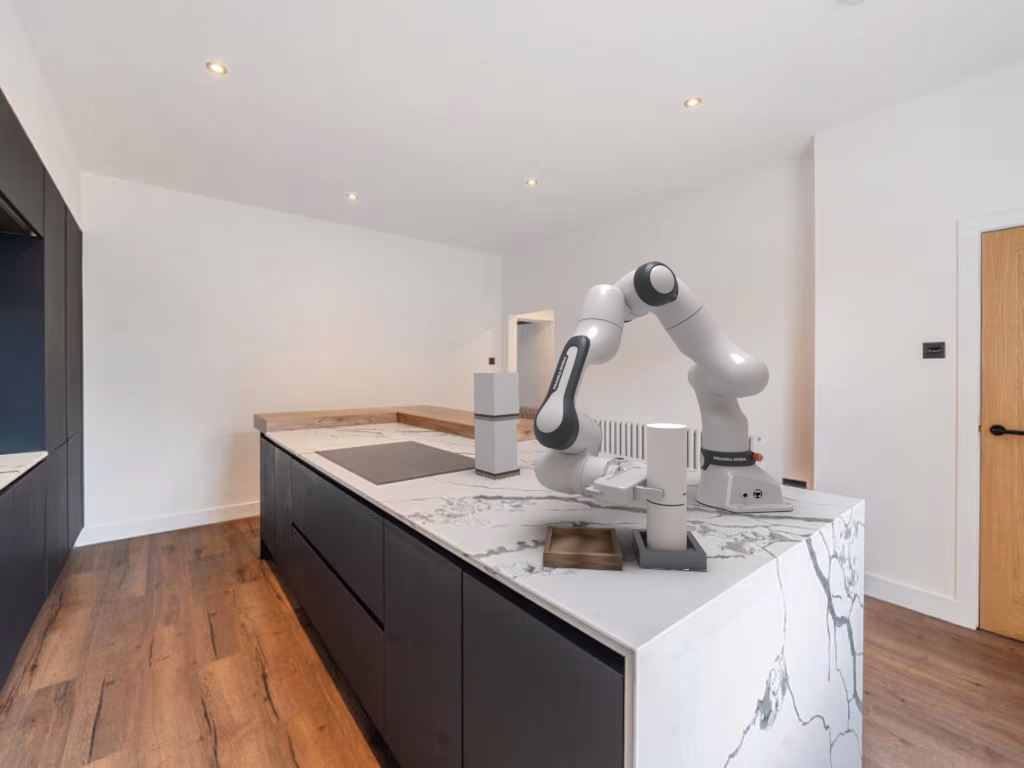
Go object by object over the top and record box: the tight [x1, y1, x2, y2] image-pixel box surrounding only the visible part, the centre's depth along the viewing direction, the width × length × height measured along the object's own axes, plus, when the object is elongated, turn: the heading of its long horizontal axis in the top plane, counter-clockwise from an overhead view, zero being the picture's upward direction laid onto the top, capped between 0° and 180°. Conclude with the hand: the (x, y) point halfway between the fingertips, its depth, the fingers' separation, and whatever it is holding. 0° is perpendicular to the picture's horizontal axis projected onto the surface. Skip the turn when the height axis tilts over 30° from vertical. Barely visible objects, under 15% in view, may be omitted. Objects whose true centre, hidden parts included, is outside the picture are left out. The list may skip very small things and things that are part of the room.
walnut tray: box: [542, 525, 623, 571], centre depth 87 cm, size 14×14×2 cm
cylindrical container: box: [646, 422, 688, 551], centre depth 84 cm, size 7×7×25 cm
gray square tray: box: [631, 528, 708, 571], centre depth 84 cm, size 11×11×3 cm
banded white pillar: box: [473, 371, 521, 481], centre depth 151 cm, size 11×11×35 cm
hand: (671, 489), depth 83 cm, fingers closed on cylindrical container, 7 cm apart
